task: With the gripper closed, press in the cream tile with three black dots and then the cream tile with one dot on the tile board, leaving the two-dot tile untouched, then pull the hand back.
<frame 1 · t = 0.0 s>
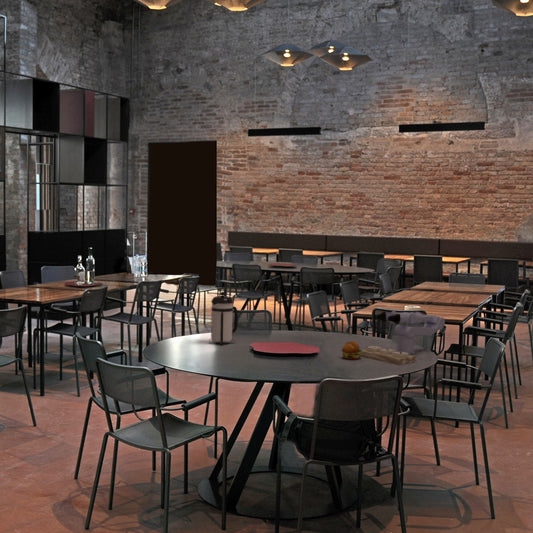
hand: (382, 317, 399), 22 cm above the table, fingers open, 7 cm apart
tile board: (387, 358, 398), on the table
coffee press: (222, 343, 432), on the table
three dot tile: (400, 355, 391), point 4 cm above the table, slide at 0.0 cm
one dot tile: (374, 349, 405), point 4 cm above the table, slide at 0.0 cm
cheeseburger: (351, 358, 397), on the table
two dot tile: (387, 352, 398), point 4 cm above the table, slide at 0.0 cm
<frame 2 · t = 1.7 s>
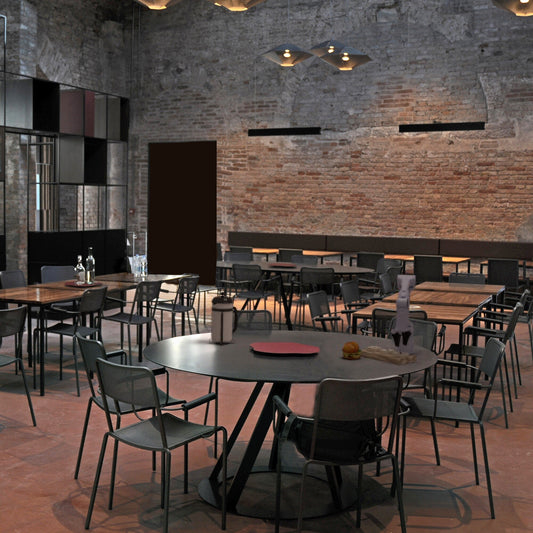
hand: (400, 345, 391), 8 cm above the table, fingers open, 6 cm apart
nothing on the table moved.
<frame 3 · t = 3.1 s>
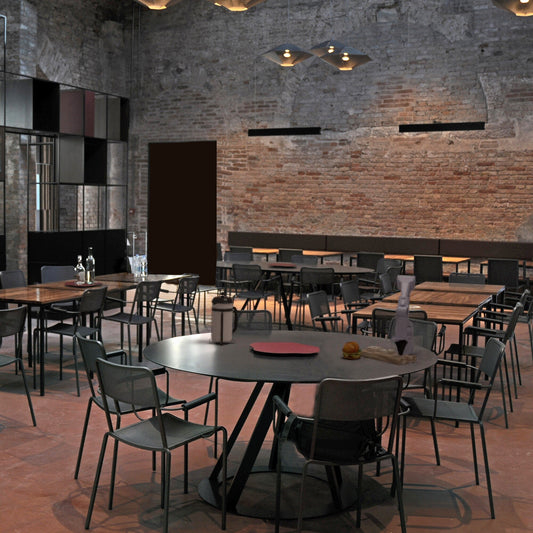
hand: (400, 354, 391), 4 cm above the table, fingers closed, pressing on three dot tile
three dot tile: (400, 356, 391), point 3 cm above the table, slide at 0.9 cm, touching gripper
everything else where it was.
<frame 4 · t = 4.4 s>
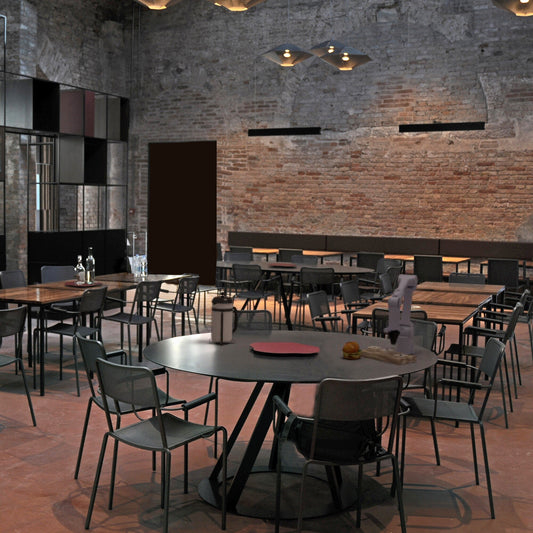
hand: (393, 344, 395), 8 cm above the table, fingers closed
three dot tile: (400, 357, 391), point 2 cm above the table, slide at 1.2 cm, touching tile board
everything else where it was.
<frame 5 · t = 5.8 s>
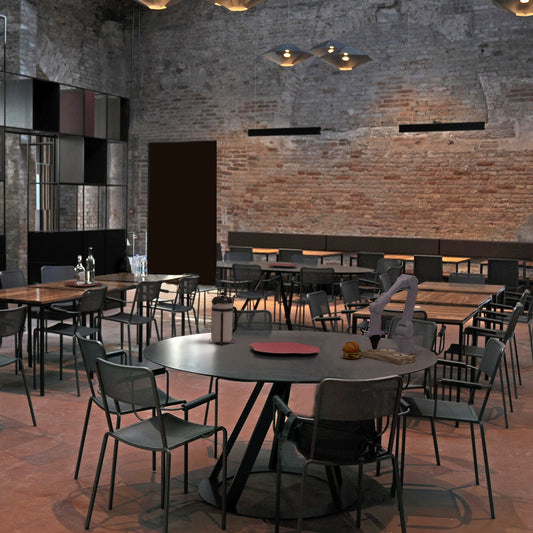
hand: (374, 348, 404), 4 cm above the table, fingers closed, pressing on one dot tile
one dot tile: (374, 351, 405), point 3 cm above the table, slide at 1.0 cm, touching gripper
everything else where it was.
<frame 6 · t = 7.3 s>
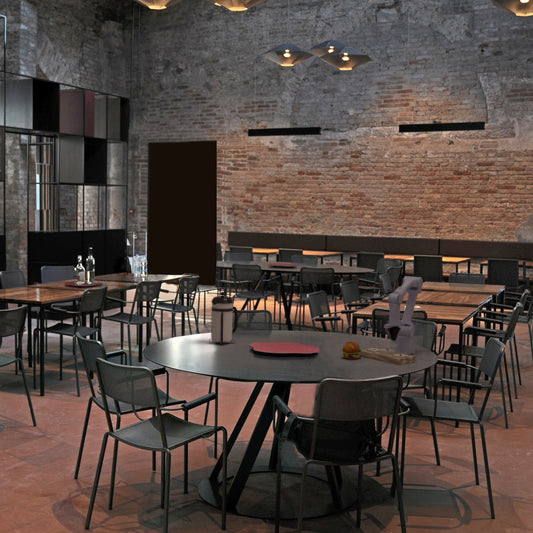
hand: (393, 340, 401), 9 cm above the table, fingers closed
one dot tile: (374, 351, 405), point 2 cm above the table, slide at 1.2 cm, touching tile board
everything else where it was.
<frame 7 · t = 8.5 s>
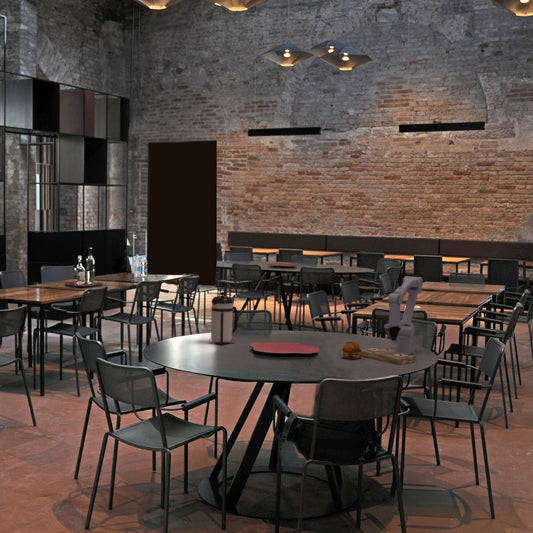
hand: (393, 340, 401), 9 cm above the table, fingers closed
nothing on the table moved.
at the end: three dot tile slide at 1.2 cm; one dot tile slide at 1.2 cm; two dot tile slide at 0.0 cm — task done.
